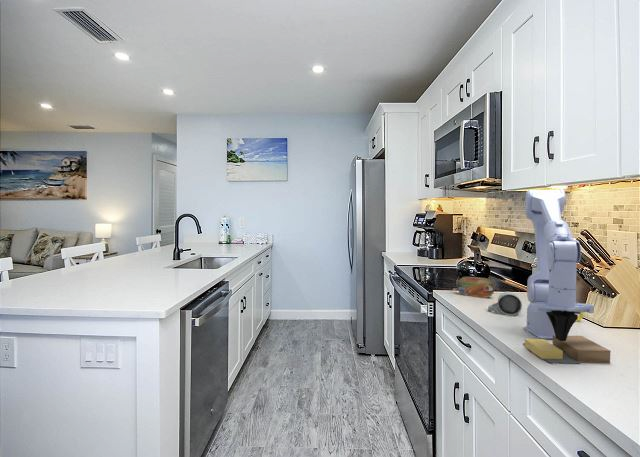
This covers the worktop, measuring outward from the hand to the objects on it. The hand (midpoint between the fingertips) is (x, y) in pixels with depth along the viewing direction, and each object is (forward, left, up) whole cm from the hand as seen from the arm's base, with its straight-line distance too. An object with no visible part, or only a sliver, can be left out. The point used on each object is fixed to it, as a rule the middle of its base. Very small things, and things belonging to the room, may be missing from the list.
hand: (560, 339), depth 88 cm
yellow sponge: (0, -4, -2) cm, 5 cm away
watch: (-28, +20, -4) cm, 35 cm away
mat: (0, -3, -4) cm, 5 cm away
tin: (-61, +2, -4) cm, 61 cm away
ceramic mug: (-37, +3, -4) cm, 37 cm away
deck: (0, +5, -4) cm, 6 cm away
